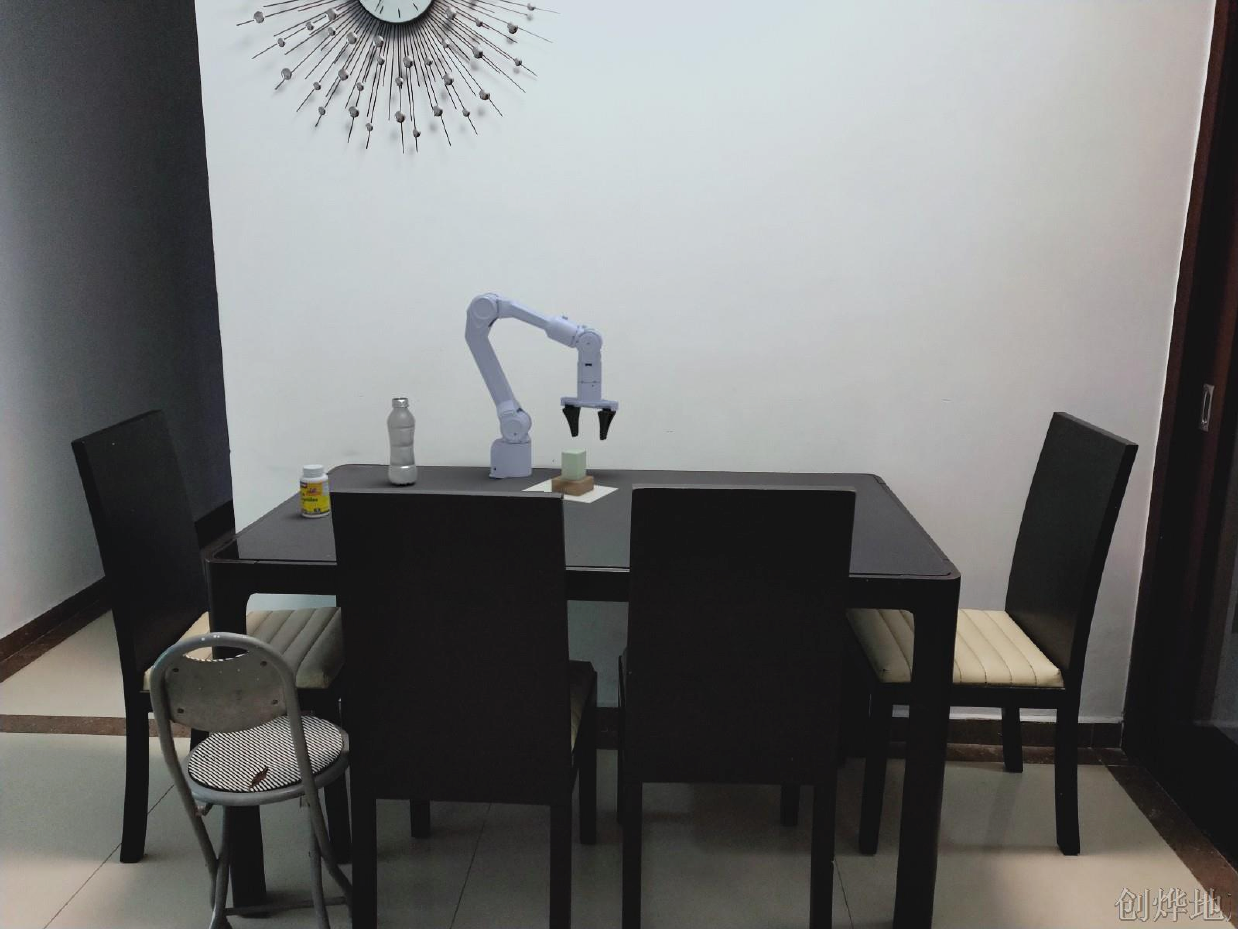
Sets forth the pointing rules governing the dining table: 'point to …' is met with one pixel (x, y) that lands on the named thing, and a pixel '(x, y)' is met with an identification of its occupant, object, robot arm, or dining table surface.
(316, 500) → the supplement bottle
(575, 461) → the sage block
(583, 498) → the plate
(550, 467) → the dining table surface
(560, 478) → the walnut base
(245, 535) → the dining table surface
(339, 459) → the dining table surface
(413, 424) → the plastic bottle
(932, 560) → the dining table surface
